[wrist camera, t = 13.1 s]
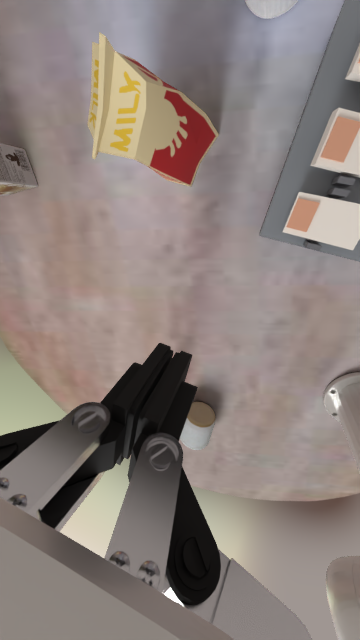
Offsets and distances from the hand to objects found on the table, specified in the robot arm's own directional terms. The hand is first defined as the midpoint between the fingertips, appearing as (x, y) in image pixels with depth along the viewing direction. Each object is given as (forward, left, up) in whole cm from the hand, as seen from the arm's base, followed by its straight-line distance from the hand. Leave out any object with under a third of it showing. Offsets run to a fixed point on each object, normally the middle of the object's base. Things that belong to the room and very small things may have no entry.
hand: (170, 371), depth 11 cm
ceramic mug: (-2, +38, -31) cm, 50 cm away
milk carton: (+13, -13, -31) cm, 36 cm away
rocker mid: (-9, -15, -24) cm, 30 cm away
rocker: (-9, -8, -24) cm, 27 cm away
